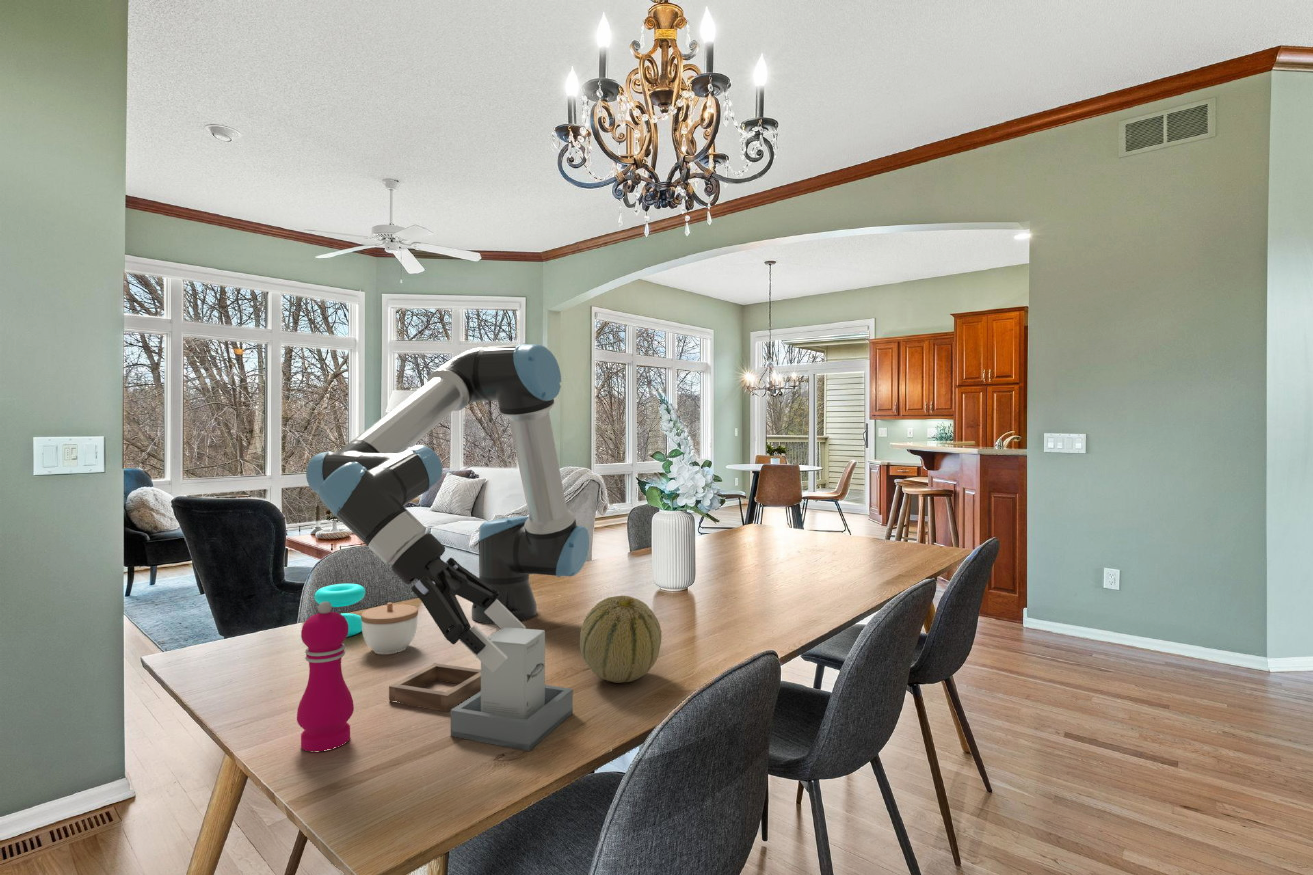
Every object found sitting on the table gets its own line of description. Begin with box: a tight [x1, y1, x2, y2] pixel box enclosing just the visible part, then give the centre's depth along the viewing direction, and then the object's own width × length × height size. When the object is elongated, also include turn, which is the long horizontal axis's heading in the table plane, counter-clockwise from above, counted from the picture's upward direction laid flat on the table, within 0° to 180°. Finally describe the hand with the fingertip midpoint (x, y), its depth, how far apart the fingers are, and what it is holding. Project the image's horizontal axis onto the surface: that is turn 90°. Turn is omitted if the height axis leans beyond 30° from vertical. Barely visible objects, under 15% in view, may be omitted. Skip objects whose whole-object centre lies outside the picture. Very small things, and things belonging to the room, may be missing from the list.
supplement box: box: [480, 627, 546, 720], centre depth 100 cm, size 7×7×13 cm
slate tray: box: [450, 684, 574, 752], centre depth 100 cm, size 13×13×4 cm
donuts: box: [314, 583, 366, 638], centre depth 144 cm, size 10×10×10 cm
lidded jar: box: [360, 602, 419, 655], centre depth 134 cm, size 11×11×9 cm
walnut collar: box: [388, 662, 481, 713], centre depth 111 cm, size 11×11×2 cm
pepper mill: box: [296, 602, 355, 752], centre depth 94 cm, size 7×7×20 cm
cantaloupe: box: [579, 595, 662, 684], centre depth 117 cm, size 15×15×15 cm
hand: (510, 648), depth 99 cm, fingers open, 13 cm apart
